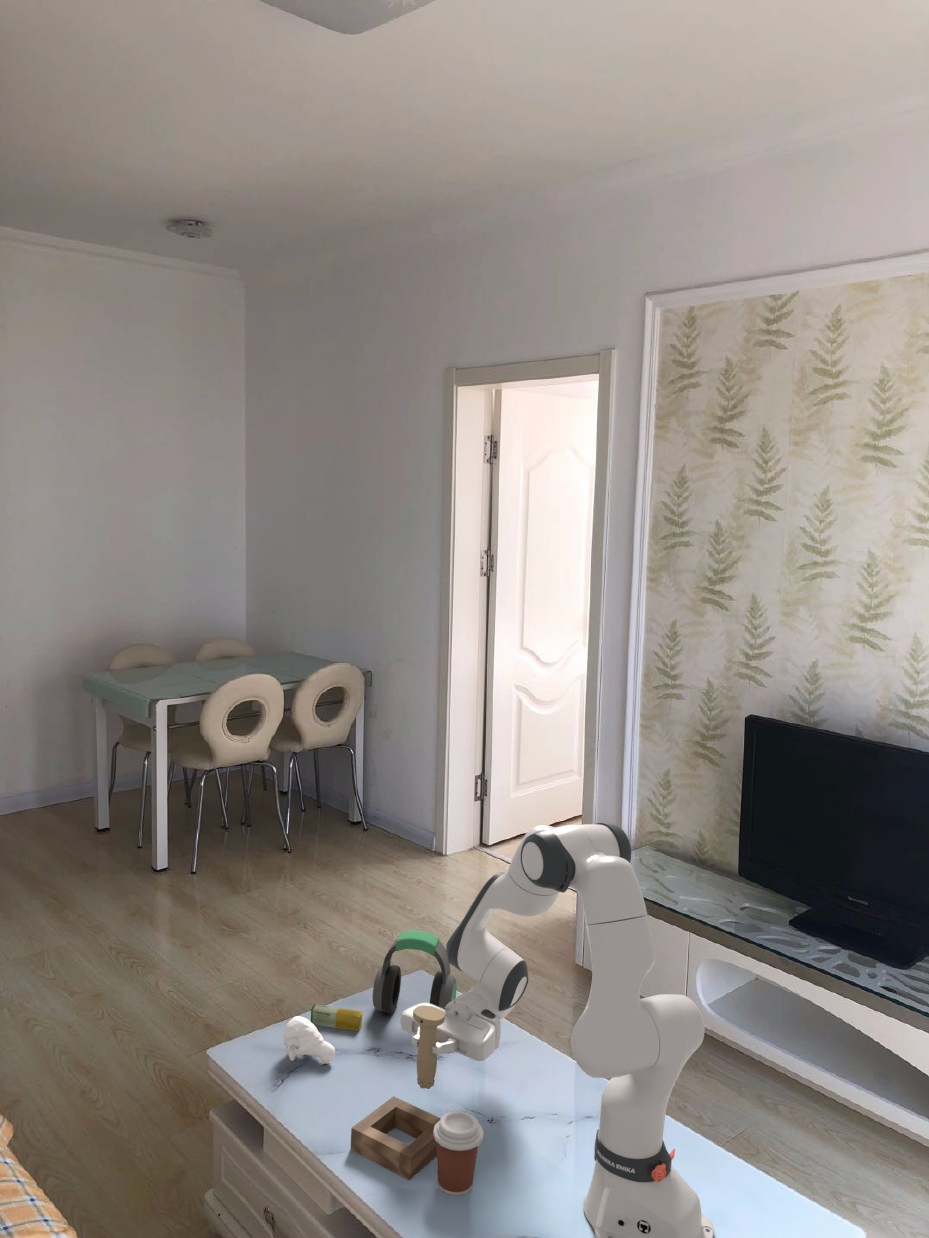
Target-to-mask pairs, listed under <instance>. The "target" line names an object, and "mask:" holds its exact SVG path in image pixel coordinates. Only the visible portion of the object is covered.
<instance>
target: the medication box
mask: <svg viewBox="0 0 929 1238" xmlns="http://www.w3.org/2000/svg"><path fill="white" fill-rule="evenodd" d="M310 1022H311V1023H312V1024H314V1026H322V1027H330V1028H334V1029H335V1028H336V1029H342V1030H348V1031H353V1032H354V1031H356V1032H361V1029H362V1027H363V1026H362V1025H363V1011H360V1010H354V1009H347V1008H342V1007H337V1006H336V1007H335V1006H330V1005H329V1006H328V1005H322V1004H318V1003H314V1004H313V1005H312V1007H311V1008H310Z"/></svg>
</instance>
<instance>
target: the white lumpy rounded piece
mask: <svg viewBox="0 0 929 1238" xmlns="http://www.w3.org/2000/svg"><path fill="white" fill-rule="evenodd" d="M284 1029H285V1030H284V1032H283V1034H282V1038H283V1044H284V1046H285V1048H286V1052H287V1054H288V1058H289V1060H290V1061H292V1062H294V1061H295V1059H296V1057H301V1056H304V1055H305V1056H313V1057H316V1058H318V1059H319V1060H318V1061H317V1063H318V1064H319V1066H321V1065H325V1064H326V1065H329V1063H330V1062H331V1061H332V1060H334V1058H335V1055H336V1049H335V1047H334V1046H333V1045H332V1044H331V1043H329V1042H328V1041H325V1039H324V1037H323V1035H322V1034H321V1033H320V1032H319V1030H318V1028H317V1026H316V1025H315V1024H312V1023H311V1020H309V1019H308V1018H306V1017H304V1016H299V1015H297V1016H296V1015H295V1016H294V1017H292V1018H291V1019H290V1020H289V1021H288V1022H287V1024H286V1026H285V1028H284Z"/></svg>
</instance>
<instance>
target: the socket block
mask: <svg viewBox="0 0 929 1238" xmlns="http://www.w3.org/2000/svg"><path fill="white" fill-rule="evenodd" d="M440 1118H441V1117H440V1116H437V1115H435V1114H432V1113H431V1112H428V1111H426V1110H424V1109H422V1108H419V1107H417V1106H416V1105H413V1104H412V1103H409V1102H406V1101H404V1100H402V1099H401V1098H399V1097H396V1096H394V1095H393V1096H392V1097H391V1098H389V1099H388V1100H386V1101H385V1102H384V1103H383V1104H381V1105H380V1106H379V1107H377V1108H376V1109H375V1110H373V1111H372V1112H370V1113H369V1114H368V1115H366V1116H365V1117H364V1118H362V1119H361V1120H360V1121H359V1122H357V1123H356V1124H355V1125H353V1126H351V1129H350V1131H351V1132H350V1133H351V1134H350V1147H349V1148H350V1149H349V1150H350V1151H352V1152H354V1153H356V1154H357V1155H360V1156H362V1157H364V1158H366V1159H368V1160H370V1161H371V1162H372V1163H374V1164H377V1165H379V1166H381V1167H382V1168H385V1169H386V1170H389V1171H391V1172H392V1173H394V1174H396V1175H398V1176H400V1177H401V1178H403V1179H406V1180H407V1181H410V1180H412V1179H413V1178H414V1177H415V1176H416V1175H417V1174H419V1173H420V1172H421V1171H422V1170H423V1169H425V1167H427V1166H428V1165H429V1164H430V1163H431V1162H432V1161H434V1159H437V1142H436V1141H435V1138H434V1136H433V1130H434V1126H435V1124H436V1123H437V1122H438V1121H439V1120H440ZM394 1129H396V1130H397V1131H400V1132H402V1133H404V1134H406V1135H408V1136H410V1137H412V1138H413V1141H411V1142H410V1143H409V1144H406V1143H404V1142H402V1141H401V1140H398V1139H397V1138H394V1137H392V1136H391V1135H389V1134H390V1133H391V1132H392V1131H393V1130H394Z"/></svg>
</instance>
